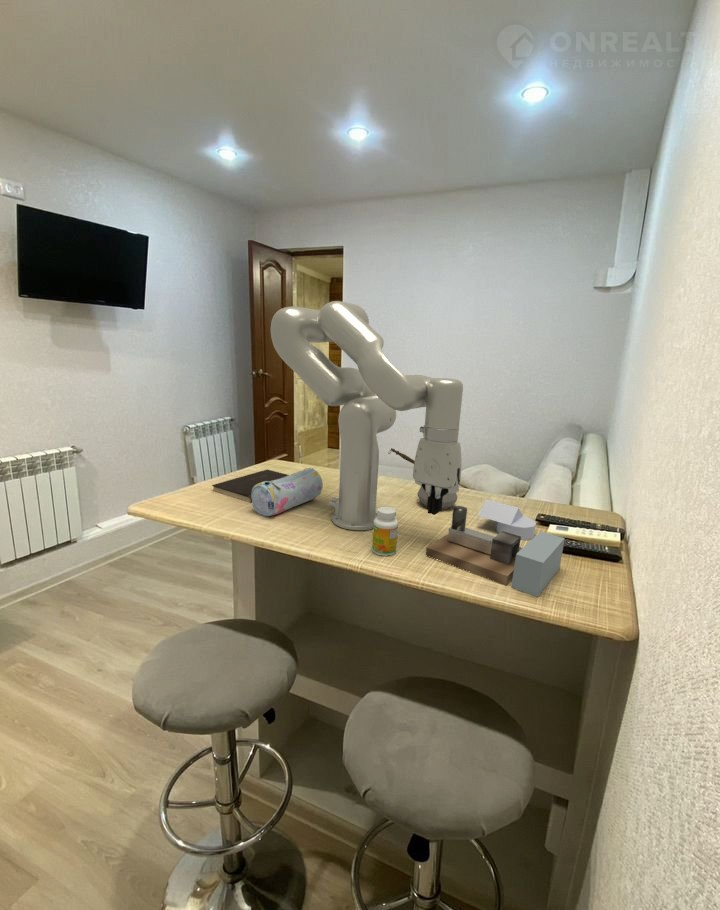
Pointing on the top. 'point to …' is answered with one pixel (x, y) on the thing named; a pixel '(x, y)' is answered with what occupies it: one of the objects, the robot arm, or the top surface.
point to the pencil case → (286, 492)
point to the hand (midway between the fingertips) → (433, 512)
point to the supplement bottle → (385, 532)
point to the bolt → (468, 533)
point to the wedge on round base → (508, 519)
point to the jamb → (537, 563)
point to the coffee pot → (447, 499)
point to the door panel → (480, 556)
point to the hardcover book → (246, 484)
